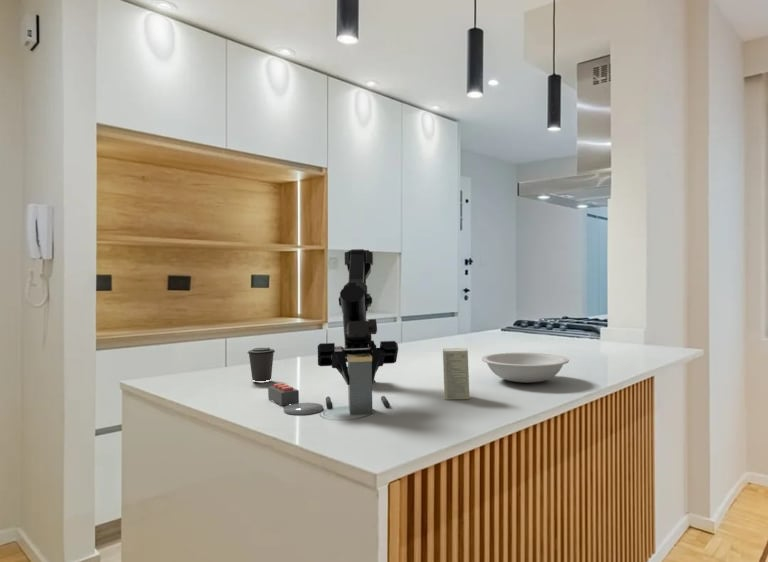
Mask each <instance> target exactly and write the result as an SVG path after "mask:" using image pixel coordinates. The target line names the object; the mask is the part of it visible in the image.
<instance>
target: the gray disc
mask: <svg viewBox="0 0 768 562" xmlns="http://www.w3.org/2000/svg"><path fill="white" fill-rule="evenodd" d="M323 410H324V405H323V404H320V403H316V402H299V403H296V404H291V405H286V406H283V413H284V412H285V413H284V414H287V413H288V414H287V415H291V414H292V415H293V416H306V415H307V416H308V415H313V414H314V415H315V414H317V413H320V412H322V411H323ZM292 415H291V416H292Z"/></svg>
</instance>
